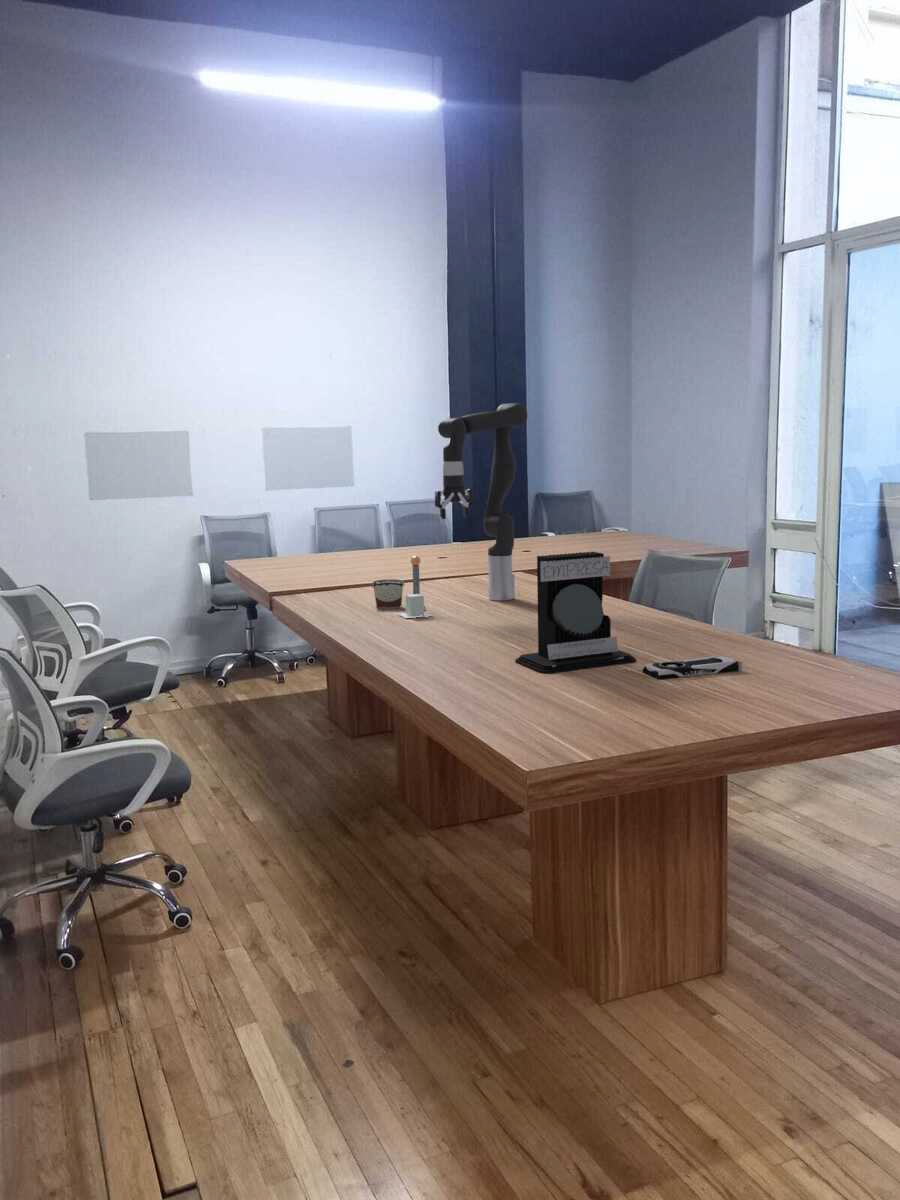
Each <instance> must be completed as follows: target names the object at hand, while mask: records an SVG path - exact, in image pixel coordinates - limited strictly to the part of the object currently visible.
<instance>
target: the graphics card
mask: <svg viewBox="0 0 900 1200" xmlns="http://www.w3.org/2000/svg"><path fill="white" fill-rule="evenodd" d="M742 671H743V661H739V660H737V659H733V658H731V657H727V656H726V655H722V654H720V655H712V656H707V657H702V658H693V659H684V660H675V661H673V660H672V661H662V662H654V663H646V664H644V665H643V667H642V674H645V675H647V676H649V677H651V678H653V679H656V680H658V681H659V680H667V679H670V680H671V679H679V678H688V677H689V678H690V677H698V676H705V675H708V676H709V675H716V674H724V673H731V672H732V673H733V672H742Z"/></svg>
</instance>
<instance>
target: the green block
mask: <svg viewBox="0 0 900 1200" xmlns="http://www.w3.org/2000/svg"><path fill="white" fill-rule="evenodd" d="M424 596H425V595H423V594H421V593H420V594H413V593H412V594H411V593H410V594H405V613H406V614H407V615H409V616H420V615H424V612H425V610H424V606H425V601H424V600H425V599H424V598H425V597H424Z"/></svg>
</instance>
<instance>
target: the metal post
mask: <svg viewBox="0 0 900 1200" xmlns="http://www.w3.org/2000/svg"><path fill="white" fill-rule="evenodd" d="M410 563H411V565H412V588H413V589H412V590H413V592H412V594H420V595H421V588H420V585H421V584H420V583H421V581H420V564H421V558H420V557H419V556H418V555H417V556H416V555H413V556H412V557H411V559H410ZM424 609H425V610H426V605H424Z"/></svg>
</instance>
